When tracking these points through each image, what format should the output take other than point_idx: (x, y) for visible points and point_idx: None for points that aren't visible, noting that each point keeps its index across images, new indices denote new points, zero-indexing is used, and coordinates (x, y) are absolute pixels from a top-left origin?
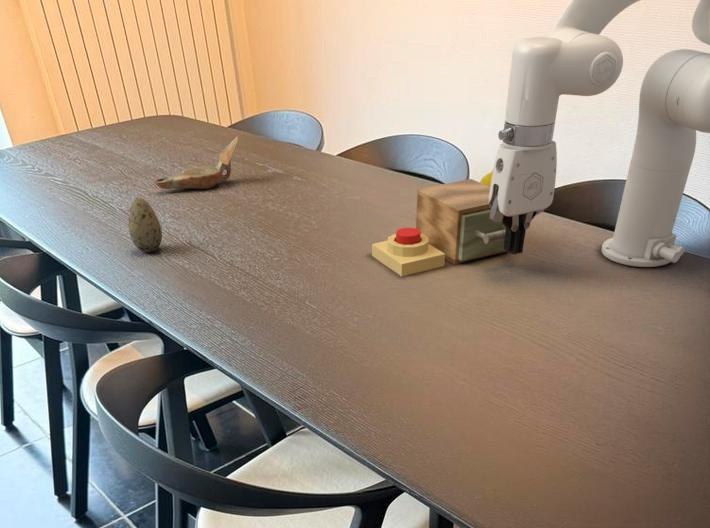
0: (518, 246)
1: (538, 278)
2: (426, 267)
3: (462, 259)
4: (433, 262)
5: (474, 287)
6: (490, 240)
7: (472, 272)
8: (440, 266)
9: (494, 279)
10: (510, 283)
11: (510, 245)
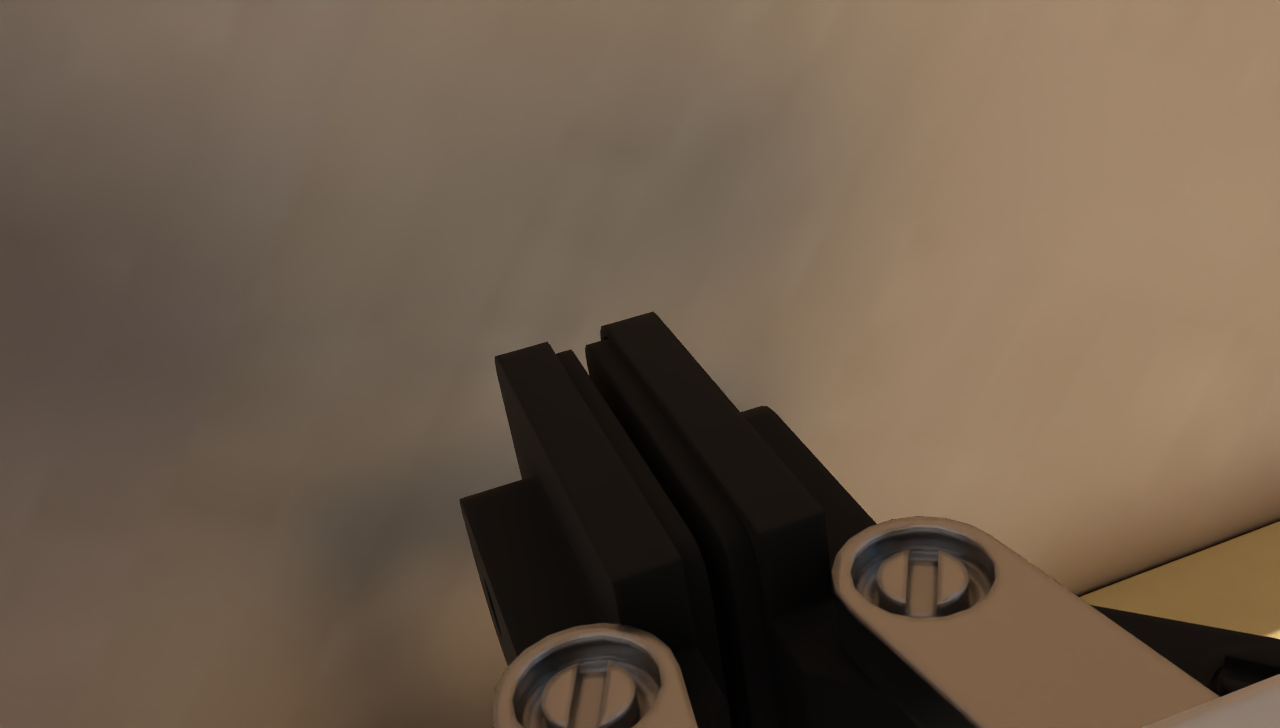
0: (626, 383)
1: (167, 60)
2: (1246, 559)
3: None
4: (1207, 602)
5: (1070, 47)
6: None
7: (884, 433)
8: (1092, 596)
9: (761, 198)
10: (635, 20)
11: (764, 421)
